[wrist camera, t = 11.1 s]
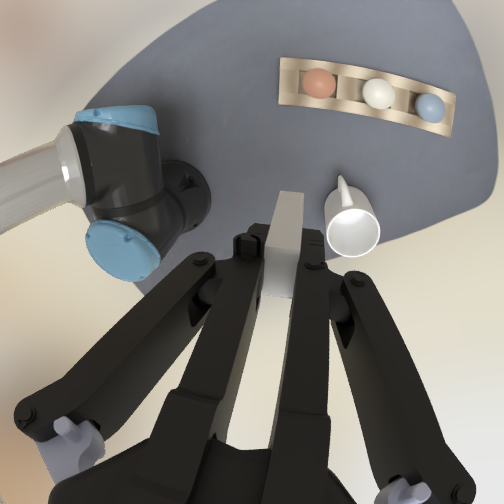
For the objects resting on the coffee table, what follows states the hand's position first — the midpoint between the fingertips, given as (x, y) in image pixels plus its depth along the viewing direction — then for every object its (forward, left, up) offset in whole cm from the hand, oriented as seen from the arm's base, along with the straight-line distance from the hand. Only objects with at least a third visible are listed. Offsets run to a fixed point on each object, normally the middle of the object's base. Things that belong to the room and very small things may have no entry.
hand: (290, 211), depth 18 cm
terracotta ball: (+2, +9, -30) cm, 32 cm away
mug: (+9, -11, -33) cm, 36 cm away
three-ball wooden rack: (+11, +9, -32) cm, 35 cm away
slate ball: (+20, +9, -30) cm, 37 cm away
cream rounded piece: (+11, +9, -30) cm, 33 cm away
